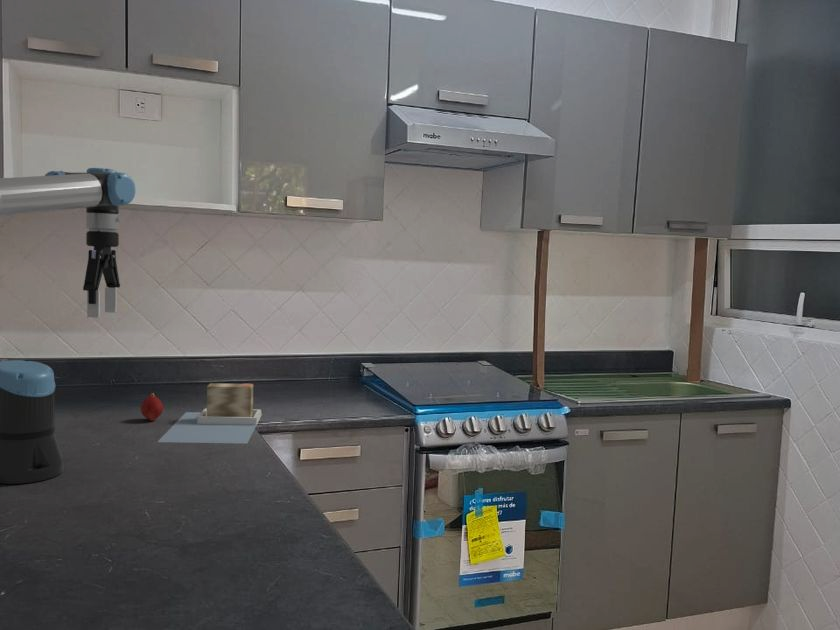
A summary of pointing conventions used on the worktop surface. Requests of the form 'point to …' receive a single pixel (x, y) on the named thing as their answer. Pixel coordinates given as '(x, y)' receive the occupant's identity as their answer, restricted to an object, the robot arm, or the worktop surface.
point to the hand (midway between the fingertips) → (102, 314)
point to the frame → (229, 419)
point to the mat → (206, 432)
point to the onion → (151, 408)
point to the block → (230, 400)
